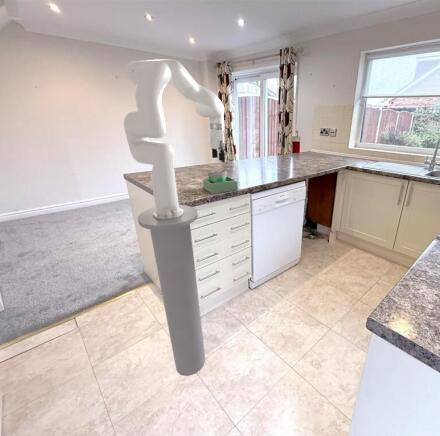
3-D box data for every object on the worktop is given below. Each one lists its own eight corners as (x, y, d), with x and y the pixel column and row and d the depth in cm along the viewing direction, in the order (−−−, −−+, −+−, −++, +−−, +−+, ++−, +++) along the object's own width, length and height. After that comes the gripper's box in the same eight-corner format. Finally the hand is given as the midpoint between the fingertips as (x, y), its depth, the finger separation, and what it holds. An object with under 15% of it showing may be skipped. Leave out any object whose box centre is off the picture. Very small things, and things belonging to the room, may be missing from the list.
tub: (237, 189, 148) (237, 180, 146) (211, 194, 140) (210, 184, 137) (228, 184, 158) (228, 176, 156) (203, 188, 149) (202, 179, 147)
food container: (214, 191, 142) (213, 174, 138) (208, 188, 146) (207, 172, 142) (231, 187, 150) (231, 171, 146) (225, 185, 154) (224, 169, 150)
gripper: (204, 126, 139) (206, 157, 145) (216, 128, 126) (218, 161, 133) (217, 126, 143) (218, 156, 150) (230, 128, 130) (230, 161, 137)
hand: (218, 159), depth 141 cm, fingers open, 9 cm apart
